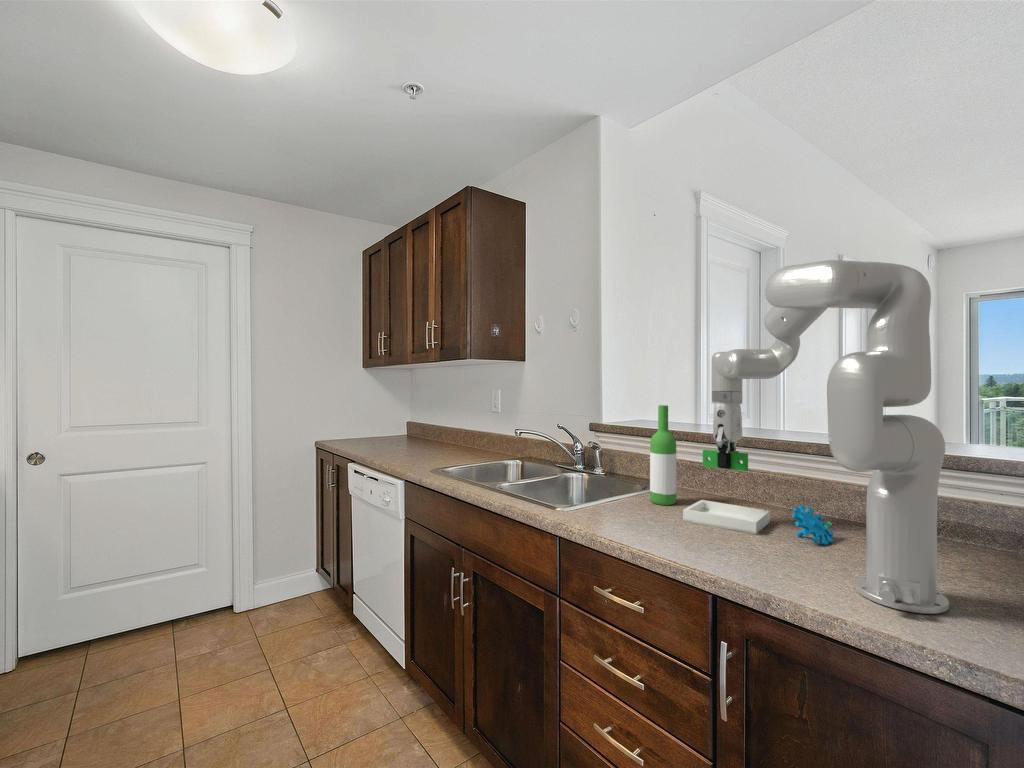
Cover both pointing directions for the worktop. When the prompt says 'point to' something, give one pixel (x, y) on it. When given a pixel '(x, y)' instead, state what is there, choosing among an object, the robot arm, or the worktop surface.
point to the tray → (727, 516)
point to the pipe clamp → (734, 460)
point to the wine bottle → (663, 462)
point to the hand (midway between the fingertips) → (726, 466)
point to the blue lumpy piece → (812, 525)
